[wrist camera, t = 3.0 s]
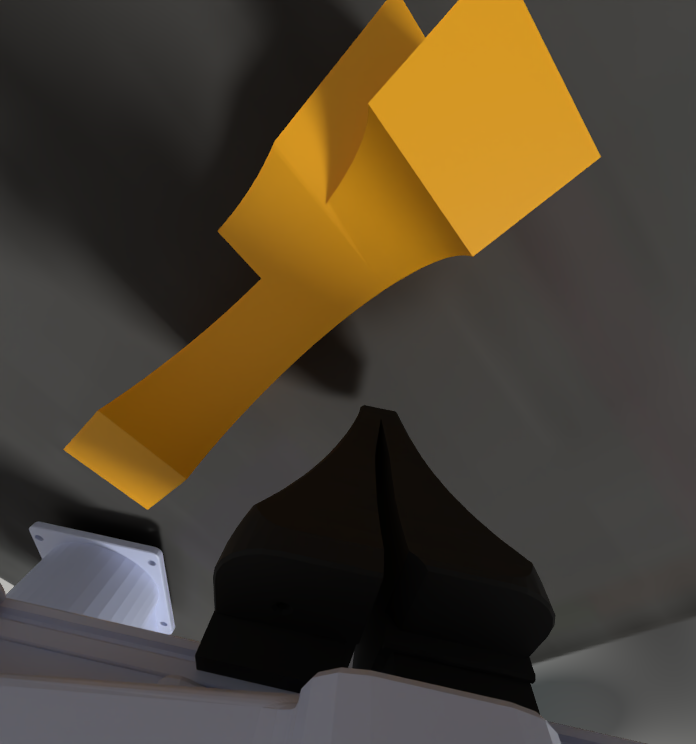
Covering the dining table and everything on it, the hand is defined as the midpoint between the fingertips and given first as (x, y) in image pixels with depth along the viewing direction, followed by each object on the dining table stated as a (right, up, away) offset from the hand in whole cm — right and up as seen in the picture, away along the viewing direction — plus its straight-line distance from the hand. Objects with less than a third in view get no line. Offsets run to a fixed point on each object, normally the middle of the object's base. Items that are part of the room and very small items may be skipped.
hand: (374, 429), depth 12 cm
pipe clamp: (-3, +6, 0) cm, 7 cm away
